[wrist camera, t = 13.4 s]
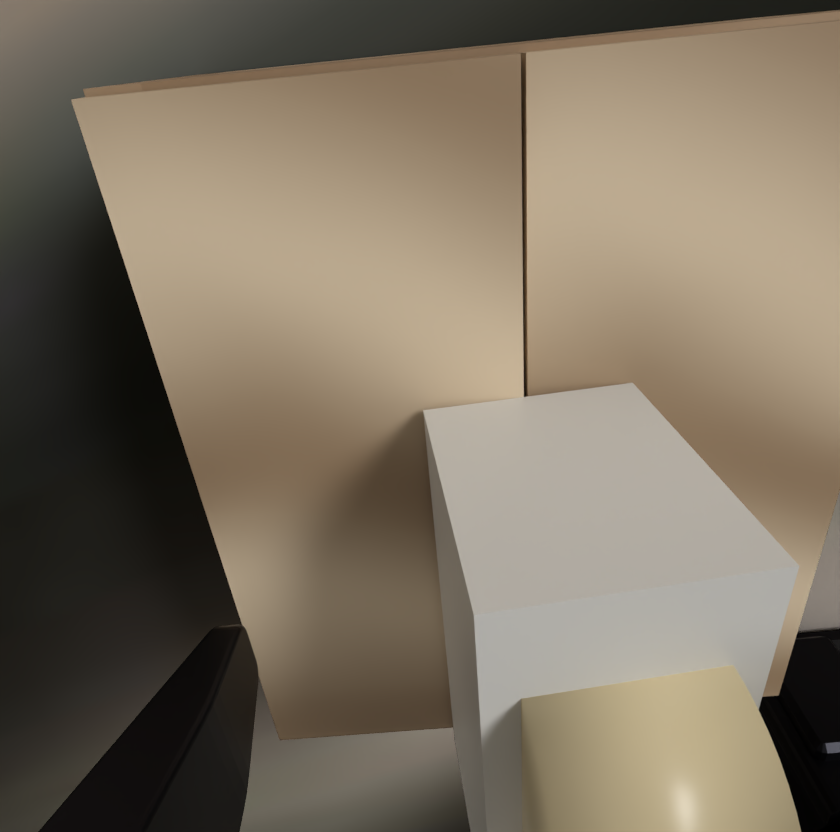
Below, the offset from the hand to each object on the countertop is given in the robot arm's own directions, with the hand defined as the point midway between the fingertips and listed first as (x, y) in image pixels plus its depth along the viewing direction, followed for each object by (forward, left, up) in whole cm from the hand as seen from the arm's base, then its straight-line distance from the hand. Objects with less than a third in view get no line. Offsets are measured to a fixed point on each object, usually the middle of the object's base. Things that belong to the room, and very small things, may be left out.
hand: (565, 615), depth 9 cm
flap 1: (0, +3, -4) cm, 5 cm away
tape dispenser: (-3, 0, -3) cm, 4 cm away
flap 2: (0, -3, -4) cm, 5 cm away
